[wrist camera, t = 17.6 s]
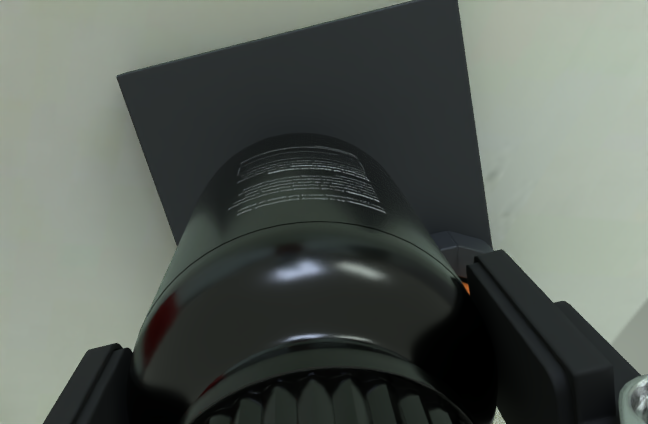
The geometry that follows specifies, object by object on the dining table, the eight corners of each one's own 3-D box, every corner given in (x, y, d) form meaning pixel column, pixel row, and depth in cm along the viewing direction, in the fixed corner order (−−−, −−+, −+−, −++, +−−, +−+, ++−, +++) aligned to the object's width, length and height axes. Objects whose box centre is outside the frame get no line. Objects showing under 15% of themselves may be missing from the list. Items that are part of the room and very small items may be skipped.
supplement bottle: (158, 266, 18) (-67, 695, 6) (263, 85, 16) (207, 235, 5) (334, 356, 19) (401, 826, 8) (447, 199, 18) (733, 516, 6)
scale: (504, 324, 25) (532, 363, 22) (238, 388, 25) (231, 436, 22) (457, -11, 20) (486, -17, 17) (126, 72, 20) (100, 80, 17)
